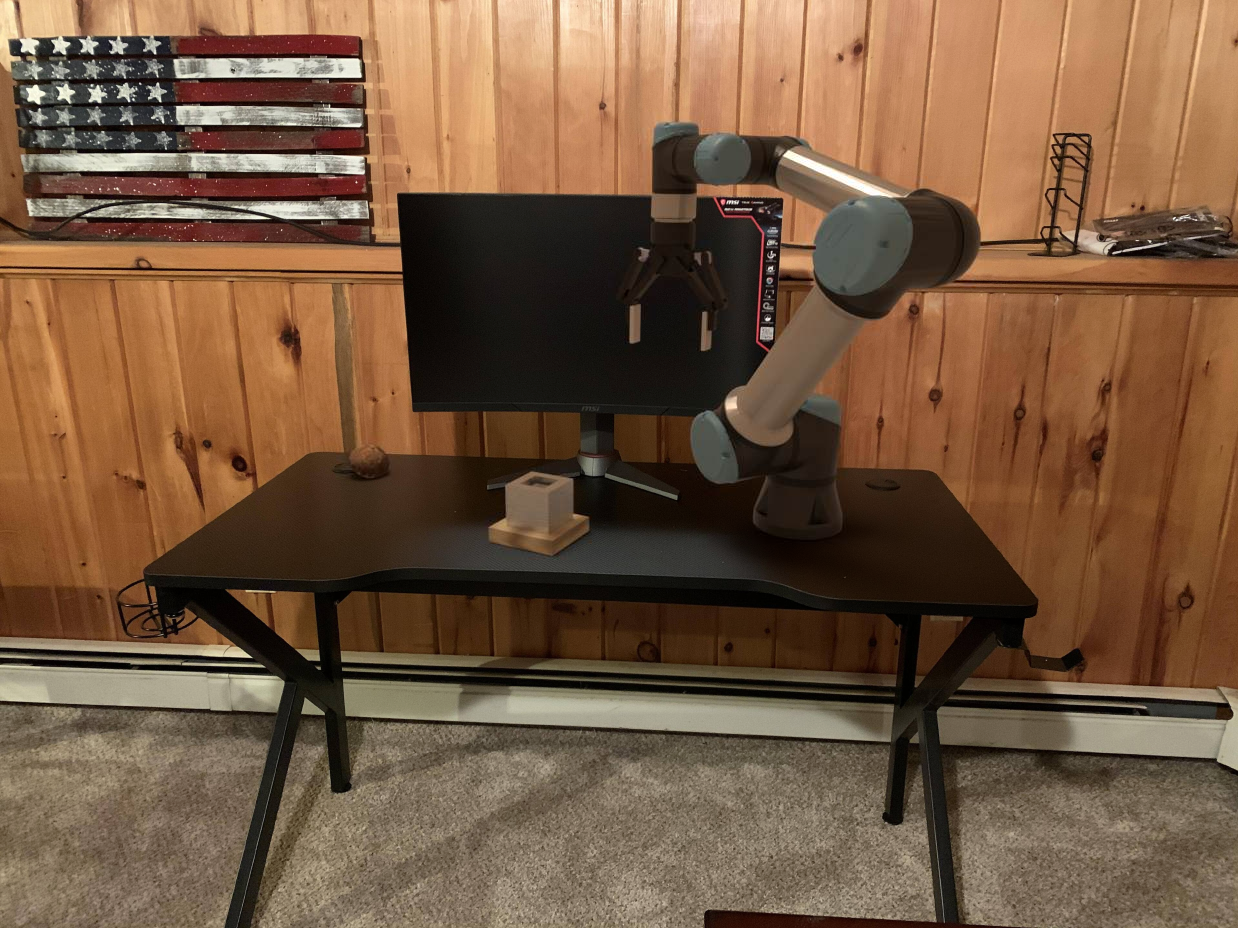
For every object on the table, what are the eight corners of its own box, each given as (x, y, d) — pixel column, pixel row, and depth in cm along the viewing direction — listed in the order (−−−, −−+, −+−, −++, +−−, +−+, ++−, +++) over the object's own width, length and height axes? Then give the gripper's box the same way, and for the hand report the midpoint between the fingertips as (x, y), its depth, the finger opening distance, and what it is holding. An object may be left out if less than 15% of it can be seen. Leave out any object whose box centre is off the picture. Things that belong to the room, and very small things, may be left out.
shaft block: (589, 530, 155) (589, 483, 152) (552, 555, 145) (551, 505, 142) (528, 518, 160) (527, 471, 158) (488, 541, 150) (487, 492, 147)
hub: (573, 518, 154) (573, 478, 151) (548, 534, 147) (548, 493, 145) (532, 510, 157) (531, 471, 155) (506, 525, 150) (505, 485, 148)
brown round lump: (343, 454, 184) (354, 433, 180) (381, 464, 188) (393, 443, 184) (342, 483, 178) (353, 462, 175) (381, 493, 182) (393, 472, 179)
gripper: (751, 222, 152) (744, 349, 159) (617, 217, 163) (616, 336, 170) (735, 224, 146) (729, 356, 153) (597, 218, 157) (596, 342, 163)
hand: (669, 346), depth 161 cm, fingers open, 13 cm apart
